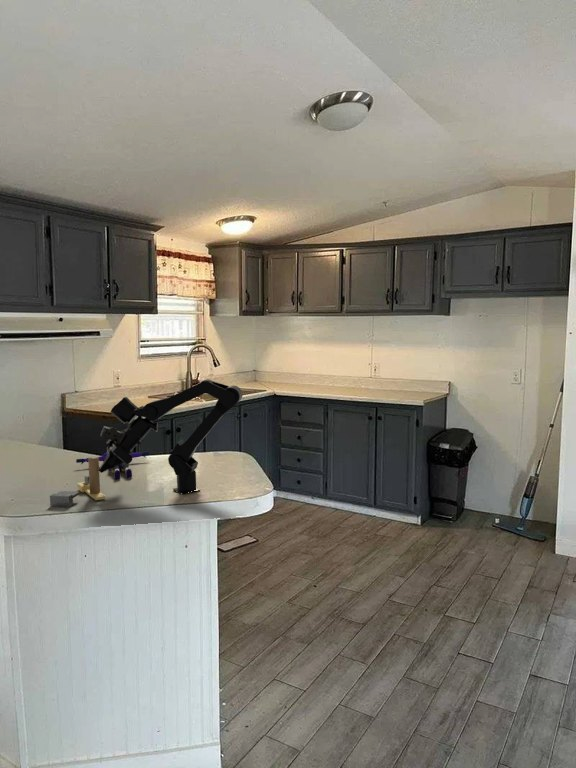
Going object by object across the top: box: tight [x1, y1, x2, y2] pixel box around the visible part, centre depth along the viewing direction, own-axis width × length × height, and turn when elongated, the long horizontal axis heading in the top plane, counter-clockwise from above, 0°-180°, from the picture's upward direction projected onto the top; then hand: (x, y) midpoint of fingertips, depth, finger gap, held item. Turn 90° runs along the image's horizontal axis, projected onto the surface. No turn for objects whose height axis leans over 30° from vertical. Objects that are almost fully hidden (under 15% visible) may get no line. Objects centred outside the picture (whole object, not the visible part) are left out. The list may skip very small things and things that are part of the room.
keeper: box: [49, 490, 81, 508], centre depth 166 cm, size 6×6×3 cm
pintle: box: [83, 475, 89, 494], centre depth 179 cm, size 4×4×5 cm
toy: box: [75, 451, 150, 481], centre depth 206 cm, size 27×6×30 cm
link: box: [76, 456, 107, 501], centre depth 175 cm, size 16×5×12 cm, turn 36°
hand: (100, 471), depth 173 cm, fingers closed, pressing on link
